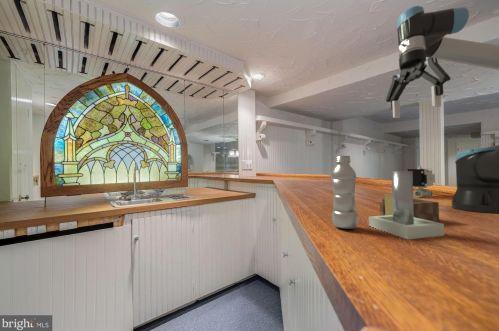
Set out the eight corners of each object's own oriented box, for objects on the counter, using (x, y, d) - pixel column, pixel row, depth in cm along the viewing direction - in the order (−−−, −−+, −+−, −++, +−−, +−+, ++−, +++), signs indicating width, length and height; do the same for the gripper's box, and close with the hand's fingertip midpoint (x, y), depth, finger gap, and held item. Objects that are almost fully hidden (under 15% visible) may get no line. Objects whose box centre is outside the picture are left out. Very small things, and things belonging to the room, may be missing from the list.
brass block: (391, 218, 64) (390, 193, 64) (400, 220, 61) (399, 194, 61) (385, 218, 63) (384, 193, 64) (393, 220, 61) (392, 194, 61)
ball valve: (426, 199, 103) (425, 165, 103) (406, 198, 110) (405, 166, 110) (437, 196, 113) (436, 165, 113) (418, 195, 120) (417, 166, 120)
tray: (400, 223, 59) (400, 214, 59) (444, 235, 48) (443, 223, 48) (369, 226, 56) (368, 216, 56) (407, 239, 46) (407, 227, 46)
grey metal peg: (402, 225, 55) (400, 171, 55) (418, 230, 50) (416, 171, 51) (388, 226, 54) (387, 171, 54) (404, 231, 49) (402, 171, 50)
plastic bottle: (348, 233, 51) (345, 155, 51) (326, 226, 57) (325, 156, 57) (363, 229, 54) (361, 155, 54) (341, 223, 60) (340, 157, 60)
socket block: (406, 215, 70) (405, 197, 70) (439, 222, 60) (438, 202, 60) (375, 217, 67) (374, 199, 67) (404, 225, 57) (403, 204, 57)
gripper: (374, 70, 83) (376, 120, 82) (445, 28, 59) (449, 99, 58) (388, 72, 85) (391, 121, 84) (463, 31, 60) (467, 100, 60)
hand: (414, 112), depth 71 cm, fingers open, 13 cm apart
